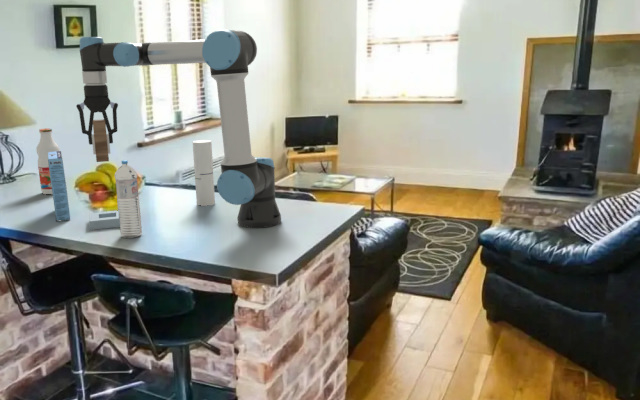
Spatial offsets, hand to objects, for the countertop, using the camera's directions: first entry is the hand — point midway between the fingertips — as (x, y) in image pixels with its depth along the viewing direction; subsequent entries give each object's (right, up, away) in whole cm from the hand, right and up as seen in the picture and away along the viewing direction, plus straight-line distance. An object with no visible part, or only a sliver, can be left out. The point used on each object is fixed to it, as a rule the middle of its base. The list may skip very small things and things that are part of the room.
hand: (102, 153), depth 208 cm
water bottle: (+13, -28, -9) cm, 32 cm away
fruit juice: (-42, -13, +57) cm, 72 cm away
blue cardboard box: (-22, -22, +19) cm, 36 cm away
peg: (0, -3, +1) cm, 3 cm away
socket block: (0, -24, +6) cm, 25 cm away
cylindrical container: (+30, -18, +32) cm, 47 cm away
